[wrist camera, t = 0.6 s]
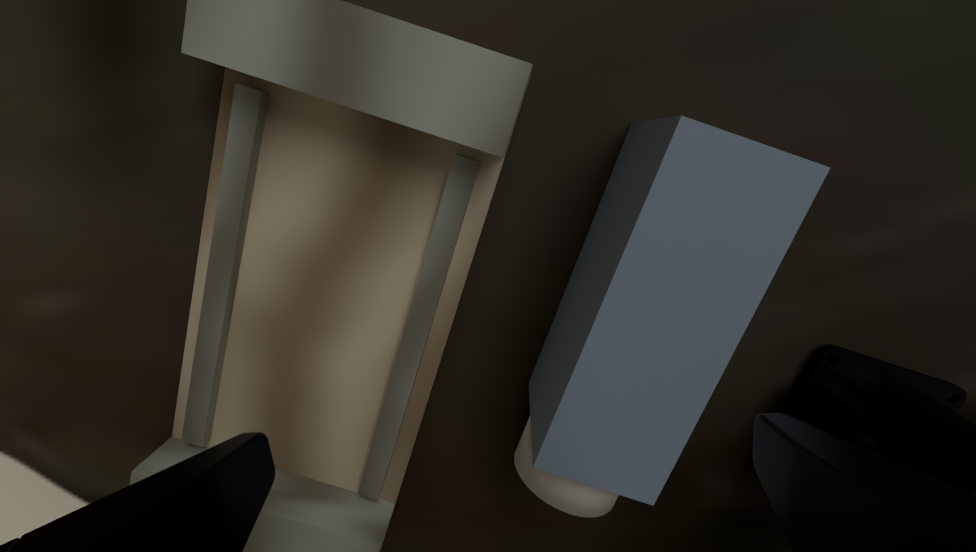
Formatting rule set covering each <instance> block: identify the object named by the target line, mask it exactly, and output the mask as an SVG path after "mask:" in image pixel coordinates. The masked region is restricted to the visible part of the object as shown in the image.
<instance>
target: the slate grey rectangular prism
mask: <svg viewBox="0 0 976 552" xmlns="http://www.w3.org/2000/svg"><path fill="white" fill-rule="evenodd" d="M829 169H830V167H827V166H824V165H821V164H818V163H816V162H813V161H810V160H807V159H804V158H801V157H798V156H796V155H793V154H790V153H787V152H784V151H781V150H778V149H775V148H773V147H770V146H767V145H764V144H761V143H758V142H755V141H753V140H750V139H747V138H744V137H741V136H738V135H735V134H733V133H730V132H727V131H724V130H721V129H718V128H715V127H713V126H710V125H707V124H704V123H701V122H698V121H695V120H693V119H690V118H687V117H684V116H675V117H669V118H662V119H655V120H648V121H641V122H634V123H631V126H630V128H629V131H628V133H627V136H626V138H625V141H624V143H623V146H622V148H621V151H620V153H619V156H618V158H617V161H616V163H615V166H614V169H613V171H612V174H611V176H610V179H609V181H608V184H607V186H606V189H605V191H604V194H603V196H602V199H601V201H600V204H599V206H598V209H597V212H596V214H595V217H594V219H593V222H592V224H591V227H590V229H589V232H588V234H587V237H586V239H585V242H584V244H583V247H582V249H581V252H580V255H579V257H578V260H577V262H576V265H575V267H574V270H573V272H572V275H571V277H570V280H569V282H568V285H567V287H566V290H565V292H564V295H563V298H562V300H561V303H560V305H559V308H558V310H557V313H556V315H555V318H554V320H553V323H552V325H551V328H550V330H549V333H548V335H547V338H546V341H545V343H544V346H543V348H542V351H541V353H540V356H539V358H538V361H537V363H536V366H535V368H534V371H533V373H532V376H531V378H530V381H529V403H530V416H529V419H528V421H527V424H526V426H525V429H524V431H523V434H522V436H521V439H520V441H519V444H518V446H517V449H516V451H515V454H514V463H515V467H516V470H517V472H518V474H519V476H520V478H521V479H522V480H523V482H524V483H525V484H526V486H527V487H528V488H529V489H530V490H531V491H532V492H533V493H534V494H535V495H537V496H538V497H539V498H540V499H542V500H543V501H545V502H546V503H548V504H549V505H551V506H553V507H554V508H556V509H559V510H561V511H563V512H566V513H568V514H572V515H575V516H580V517H598V516H602V515H604V514H606V513H608V512H609V511H610V510H611V509H612V508H613V506H614V504H615V502H616V500H617V498H618V496H619V495H622V496H625V497H628V498H631V499H634V500H637V501H641V502H644V503H647V504H650V505H653V506H654V504H655V502H656V500H657V498H658V496H659V494H660V492H661V490H662V488H663V486H664V485H665V483H666V481H667V479H668V477H669V475H670V473H671V471H672V469H673V467H674V465H675V464H676V462H677V460H678V458H679V456H680V454H681V452H682V450H683V448H684V446H685V444H686V443H687V441H688V439H689V437H690V435H691V433H692V431H693V429H694V427H695V425H696V423H697V422H698V420H699V418H700V416H701V414H702V412H703V410H704V408H705V406H706V404H707V402H708V401H709V399H710V397H711V395H712V393H713V391H714V389H715V387H716V385H717V383H718V381H719V379H720V378H721V376H722V374H723V372H724V370H725V368H726V366H727V364H728V362H729V360H730V358H731V357H732V355H733V353H734V351H735V349H736V347H737V345H738V343H739V341H740V339H741V337H742V336H743V334H744V332H745V330H746V328H747V326H748V324H749V322H750V320H751V318H752V316H753V315H754V313H755V311H756V309H757V307H758V305H759V303H760V301H761V299H762V297H763V295H764V294H765V292H766V290H767V288H768V286H769V284H770V282H771V280H772V278H773V276H774V274H775V273H776V271H777V269H778V267H779V265H780V263H781V261H782V259H783V257H784V255H785V253H786V251H787V250H788V248H789V246H790V244H791V242H792V240H793V238H794V236H795V234H796V232H797V230H798V229H799V227H800V225H801V223H802V221H803V219H804V217H805V215H806V213H807V211H808V209H809V208H810V206H811V204H812V202H813V200H814V198H815V196H816V194H817V192H818V190H819V188H820V187H821V185H822V183H823V181H824V179H825V177H826V175H827V173H828V171H829Z"/></svg>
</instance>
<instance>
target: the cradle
mask: <svg viewBox="0 0 976 552" xmlns="http://www.w3.org/2000/svg"><path fill="white" fill-rule="evenodd" d="M181 53H184V54H187V55H190V56H193V57H197V58H200V59H203V60H206V61H209V62H212V63H215V64H218V65H221V66H224V67H225V74H224V80H223V87H222V94H221V101H220V108H219V115H218V122H217V129H216V136H215V143H214V149H213V156H212V163H211V170H210V177H209V184H208V191H207V198H206V205H205V212H204V219H203V225H202V232H201V239H200V246H199V253H198V260H197V267H196V274H195V281H194V288H193V294H192V301H191V308H190V315H189V322H188V329H187V336H186V343H185V350H184V357H183V364H182V370H181V377H180V384H179V391H178V398H177V405H176V412H175V419H174V426H173V433H172V437H171V438H170V439H169V440H167V441H166V442H165V443H164V444H163V445H162V446H160V447H159V448H158V449H157V450H156V451H155V452H153V453H152V454H151V455H150V456H149V457H148V458H146V459H145V460H144V461H143V462H142V463H141V464H139V465H138V466H137V467H136V468H135V469H134V470H133V471H131V477H130V485H132V484H134V483H136V482H138V481H140V480H142V479H144V478H147V477H149V476H151V475H153V474H155V473H157V472H160V471H162V470H164V469H166V468H168V467H170V466H172V465H175V464H177V463H179V462H181V461H183V460H185V459H187V458H190V457H192V456H194V455H196V454H198V453H200V452H202V451H205V450H207V449H209V448H211V447H213V446H215V445H217V444H220V443H222V442H224V441H226V440H228V439H230V438H233V437H235V436H237V435H239V434H241V433H248V432H262V433H264V434H265V435H266V436H267V437H268V440H269V445H270V449H271V453H272V457H273V461H274V466H275V479H274V483H273V485H272V487H271V490H270V492H269V494H268V496H267V498H266V501H265V503H264V505H263V507H262V510H261V512H260V514H259V516H258V518H257V521H256V523H255V525H254V527H253V530H252V532H251V534H250V536H249V538H248V541H247V543H246V545H245V547H244V549H243V551H242V552H380V550H381V547H382V544H383V541H384V538H385V535H386V532H387V529H388V526H389V522H390V519H391V516H392V513H393V510H394V507H395V503H396V500H397V497H398V494H399V491H400V488H401V484H402V481H403V478H404V475H405V472H406V469H407V465H408V462H409V459H410V456H411V453H412V450H413V446H414V443H415V440H416V437H417V434H418V431H419V427H420V424H421V421H422V418H423V415H424V412H425V408H426V405H427V402H428V399H429V396H430V392H431V389H432V386H433V383H434V380H435V377H436V373H437V370H438V367H439V364H440V361H441V358H442V354H443V351H444V348H445V345H446V342H447V339H448V335H449V332H450V329H451V326H452V323H453V320H454V316H455V313H456V310H457V307H458V304H459V301H460V297H461V294H462V291H463V288H464V285H465V282H466V278H467V275H468V272H469V269H470V266H471V263H472V259H473V256H474V253H475V250H476V247H477V243H478V240H479V237H480V234H481V231H482V228H483V224H484V221H485V218H486V215H487V212H488V209H489V205H490V202H491V199H492V196H493V193H494V190H495V186H496V183H497V180H498V177H499V174H500V171H501V167H502V164H503V161H504V158H505V155H506V152H507V148H508V145H509V142H510V139H511V136H512V133H513V129H514V126H515V123H516V120H517V117H518V113H519V110H520V107H521V104H522V101H523V98H524V94H525V91H526V88H527V85H528V82H529V79H530V74H531V70H532V65H533V64H530V63H527V62H524V61H521V60H518V59H515V58H512V57H509V56H506V55H503V54H500V53H497V52H494V51H492V50H489V49H486V48H483V47H480V46H477V45H474V44H471V43H468V42H465V41H462V40H459V39H456V38H453V37H450V36H447V35H444V34H441V33H438V32H435V31H432V30H429V29H426V28H423V27H420V26H417V25H414V24H411V23H408V22H405V21H402V20H399V19H396V18H393V17H390V16H387V15H384V14H381V13H378V12H375V11H372V10H369V9H366V8H363V7H360V6H357V5H354V4H351V3H348V2H345V1H342V0H187V8H186V16H185V25H184V33H183V42H182V50H181Z"/></svg>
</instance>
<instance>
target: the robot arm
mask: <svg viewBox="0 0 976 552" xmlns="http://www.w3.org/2000/svg"><path fill="white" fill-rule="evenodd" d="M831 354H834V356H833V358H832V359H830V360H828V361H827V358H828V356H829V355H831ZM950 394H952V395H951V396H950V397H948V396H949V395H950ZM966 398H967V393H966V392H965V390H964V389H962V388H960V387H958V386H957V385H955V384H953V383H950V382H947V381H944V380H941V379H938V378H935V377H931V376H928V375H925V374H922V373H919V372H916V371H913V370H910V369H907V368H904V367H900V366H897V365H894V364H891V363H888V362H885V361H882V360H879V359H876V358H872V357H869V356H866V355H863V354H860V353H857V352H854V351H851V350H848V349H844V348H841V347H838V346H835V345H830V344H828V345H824V346H822V347H821V348H819V349H818V351H817V352H816V354H815V356H814V357H813V359H812V361H811V363H810V364H809V366H808V368H807V370H806V372H805V373H804V375H803V377H802V379H801V380H800V382H799V384H798V386H797V387H796V389H795V390H794V392H793V394H792V396H791V398H790V399H789V401H788V403H787V405H786V407H785V408H784V410H783V412H782V413H763V414H759V415H757V416H756V418H755V421H754V438H753V463H754V467H755V470H756V472H757V475H758V477H759V479H760V481H761V483H762V486H763V488H764V490H765V492H766V494H767V497H768V499H769V501H770V503H771V505H772V508H773V510H774V512H775V514H776V517H777V519H778V521H779V523H780V525H781V528H782V530H783V532H784V534H785V536H786V539H787V541H788V543H789V545H790V547H791V549H792V551H793V552H976V424H974V423H973V422H971V421H970V420H968V419H966V418H965V417H963V416H962V415H960V414H958V413H957V412H958V411H959V409H960V408H961V406H962V405H963V404H964V402H965V400H966ZM274 479H275V466H274V461H273V457H272V453H271V449H270V445H269V440H268V437H267V436H266V435H265V434H264V433H262V432H248V433H241V434H239V435H237V436H235V437H233V438H230V439H228V440H226V441H224V442H222V443H220V444H217V445H215V446H213V447H211V448H209V449H207V450H205V451H202V452H200V453H198V454H196V455H194V456H192V457H190V458H187V459H185V460H183V461H181V462H179V463H177V464H175V465H172V466H170V467H168V468H166V469H164V470H162V471H160V472H157V473H155V474H153V475H151V476H149V477H147V478H144V479H142V480H140V481H138V482H136V483H134V484H132V485H129V486H127V487H125V488H123V489H121V490H119V491H117V492H114V493H112V494H110V495H108V496H106V497H104V498H102V499H99V500H97V501H95V502H93V503H91V504H89V505H87V506H84V507H82V508H80V509H78V510H76V511H74V512H72V513H69V514H67V515H65V516H63V517H61V518H59V519H56V520H54V521H52V522H50V523H48V524H46V525H44V526H41V527H40V528H37V529H35V530H33V531H31V532H29V533H26V534H24V535H23V536H22V537H21V538H20V539H19V538H16V539H13V540H11V541H9V542H7V543H5V544H3V545H0V552H242V551H243V549H244V547H245V545H246V543H247V541H248V538H249V536H250V534H251V532H252V530H253V527H254V525H255V523H256V521H257V518H258V516H259V514H260V512H261V510H262V507H263V505H264V503H265V501H266V498H267V496H268V494H269V492H270V490H271V487H272V485H273V483H274Z"/></svg>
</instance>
